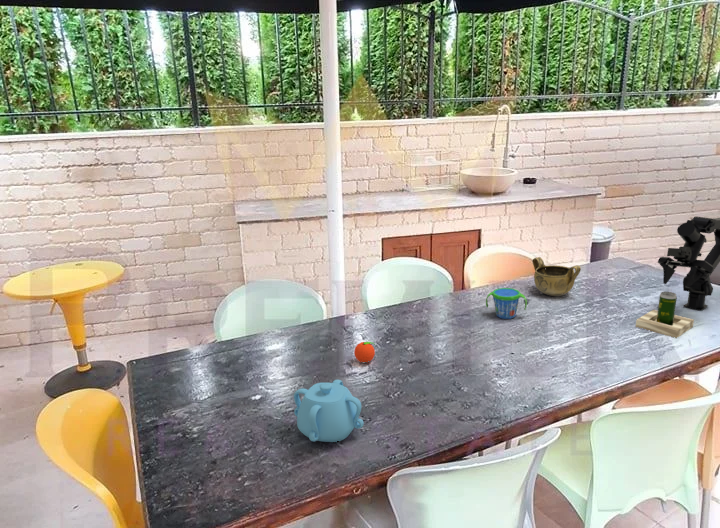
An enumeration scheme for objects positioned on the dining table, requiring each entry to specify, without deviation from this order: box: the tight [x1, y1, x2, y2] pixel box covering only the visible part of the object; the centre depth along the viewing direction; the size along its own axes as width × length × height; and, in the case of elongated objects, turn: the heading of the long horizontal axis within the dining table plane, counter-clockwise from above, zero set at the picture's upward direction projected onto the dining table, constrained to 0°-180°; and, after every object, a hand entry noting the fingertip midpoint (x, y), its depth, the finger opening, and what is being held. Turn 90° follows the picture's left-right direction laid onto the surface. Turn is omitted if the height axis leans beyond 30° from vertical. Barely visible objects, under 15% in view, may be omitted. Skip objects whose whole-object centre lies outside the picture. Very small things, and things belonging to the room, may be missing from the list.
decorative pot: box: [293, 379, 365, 443], centre depth 136 cm, size 16×16×14 cm
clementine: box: [353, 341, 377, 363], centre depth 174 cm, size 8×7×7 cm
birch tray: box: [635, 309, 695, 339], centre depth 190 cm, size 14×14×4 cm
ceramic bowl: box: [532, 256, 582, 297], centre depth 226 cm, size 22×17×15 cm
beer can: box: [657, 291, 678, 326], centre depth 188 cm, size 5×5×12 cm
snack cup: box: [485, 287, 528, 320], centre depth 205 cm, size 16×10×10 cm
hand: (675, 285), depth 193 cm, fingers open, 9 cm apart
